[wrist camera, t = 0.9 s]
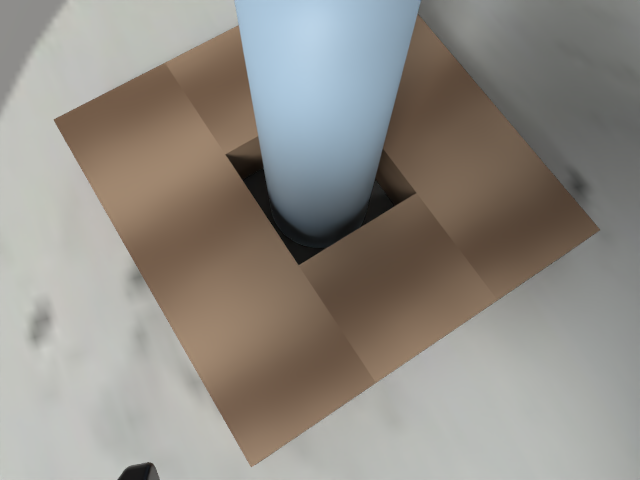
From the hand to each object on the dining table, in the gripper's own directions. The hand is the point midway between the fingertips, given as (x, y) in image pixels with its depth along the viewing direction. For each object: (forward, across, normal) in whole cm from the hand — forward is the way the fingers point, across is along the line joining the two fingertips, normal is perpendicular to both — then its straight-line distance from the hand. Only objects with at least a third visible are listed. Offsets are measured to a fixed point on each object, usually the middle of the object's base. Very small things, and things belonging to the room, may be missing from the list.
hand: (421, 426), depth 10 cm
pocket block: (+17, 0, +3) cm, 17 cm away
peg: (+17, 0, +3) cm, 17 cm away
